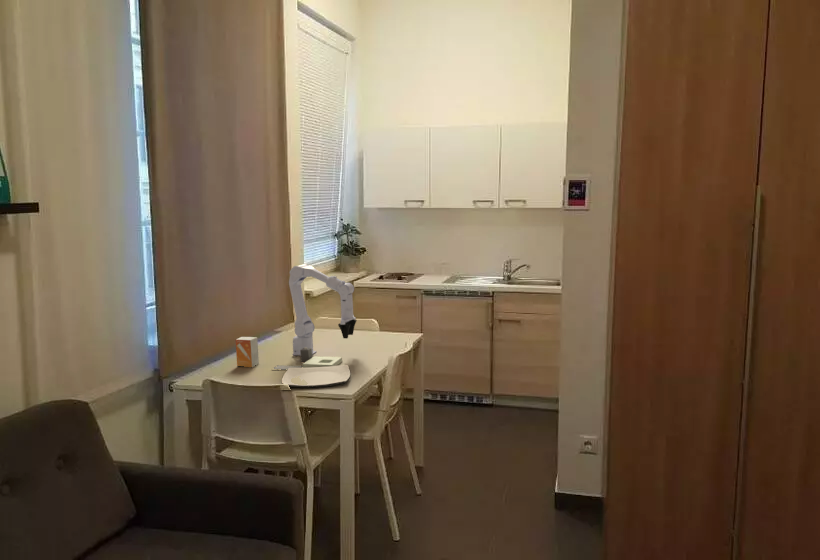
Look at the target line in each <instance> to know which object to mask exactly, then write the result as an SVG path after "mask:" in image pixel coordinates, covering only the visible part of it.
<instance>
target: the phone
mask: <svg viewBox="0 0 820 560" xmlns="http://www.w3.org/2000/svg"><path fill="white" fill-rule="evenodd" d="M276 366H277V367H276ZM276 366H274V367H273V368H274V369H281V370H286V369H287V370H288V368H302V367H303V365H284V364H282V365H279V364H278V365H276Z"/></svg>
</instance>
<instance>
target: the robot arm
mask: <svg viewBox="0 0 820 560" xmlns="http://www.w3.org/2000/svg"><path fill="white" fill-rule="evenodd" d="M309 277H311V278H314V279H316V280H318V281H320V282H323V283H325V286H326V288H327V287H328V288H329V289H331V290H333V291H335V292H336V293H338V295H339V297H340V315H341V316H340V323H338V328H339V329H340V332H341V334H342V338H343V339H349V336H353V335H354V332H355V331H354V330H355V326H356V324H357V318H356V317H355V315H354V301H353V300H354V299H353V293H354V292H355V287H354V285H353V283H351V282H346V281H345V280H341V279H340V278H338V276H336V275H330V276H328V275H327V274H325V273H323V272H321V271H320V270H318V269H317V268H315V267H313V266H312V265H309V264H308V263H303V264H299V265H294V266H293V267H292V268H290V270H289V278H288V286H289V290H290V295H291V299H292V303H293V308H294V312H295V316H296V319H295V321H294V334H295V335H296V336H293V338H292V350H293V351H292V353H293V354H292V356H301V353H300V350H301V349H303V348H305V347H307V348H312V355H314V354H316V353H317V350H314V340H313V339H314V337H313V336H314V335H313V333H314V331H315V327H316V326H315V325H314V323H313V322H312V318H311V317H310V316H309V314H308V312H307V311H308V310H307V307H306V301H305V298H304V294H303V288H302V283H303V281H304V280H306V278H309Z"/></svg>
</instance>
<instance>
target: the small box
mask: <svg viewBox="0 0 820 560" xmlns="http://www.w3.org/2000/svg"><path fill="white" fill-rule="evenodd" d="M258 344H259V343H258V337H257V336H255V337H253V336H240V337H239V338H236V339H235V350H236V351H235V353H236V367H237V366H244V367H243V368H251V367H252V368H254V367H256V366H258V365H260V360H259V358H260V357H259V346H258ZM257 364H258V365H257ZM255 365H256V366H255ZM253 366H254V367H253Z"/></svg>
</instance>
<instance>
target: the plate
mask: <svg viewBox="0 0 820 560" xmlns="http://www.w3.org/2000/svg"><path fill="white" fill-rule="evenodd" d="M296 376H297V377H298V376H301V377H299V378H300V379H301V381H302V380H303V379H304V380H305V381H306V382H307V383H308V384H307V385H298V384H294V383H292V382H291V379H292V378H295V377H296ZM297 377H296V378H297ZM350 377H351V371H350V367H349V365H348V364H338V365H337V366H329V367H309V368H288V370H287V371H285V373H284V374H283V376H282V379H281V384H282V383H284V384H288V385H289V386H291V387H290V388H320V387H321V388H322V387H329V386H330V385H331V386H335V385H342V384H346V382H348V381H349V380H350Z"/></svg>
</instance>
